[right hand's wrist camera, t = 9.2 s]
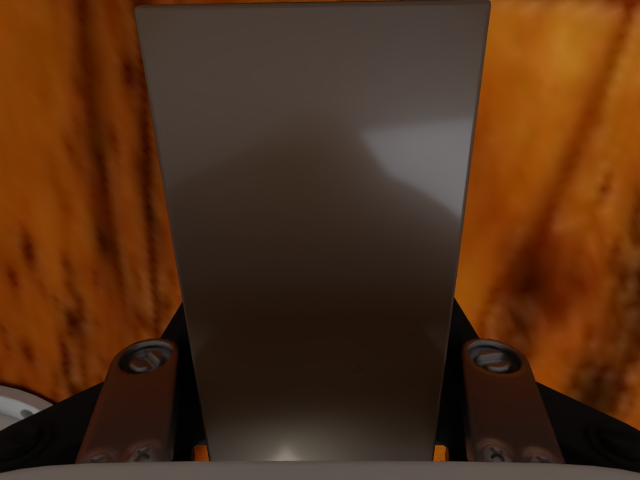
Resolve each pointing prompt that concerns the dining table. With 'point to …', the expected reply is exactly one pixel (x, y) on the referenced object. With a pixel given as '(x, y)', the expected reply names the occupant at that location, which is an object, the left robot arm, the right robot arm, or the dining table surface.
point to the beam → (316, 213)
